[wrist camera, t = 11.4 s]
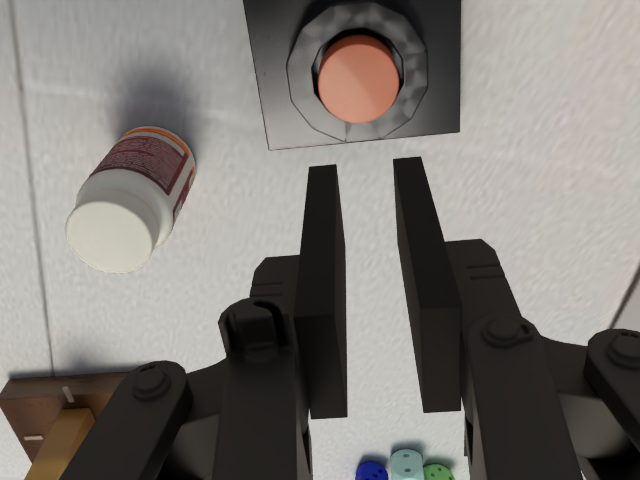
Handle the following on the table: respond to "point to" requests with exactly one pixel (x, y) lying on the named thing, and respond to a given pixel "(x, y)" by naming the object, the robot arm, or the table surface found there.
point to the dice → (404, 469)
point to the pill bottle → (131, 200)
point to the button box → (328, 27)
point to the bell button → (358, 79)
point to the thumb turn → (61, 444)
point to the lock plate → (52, 403)
